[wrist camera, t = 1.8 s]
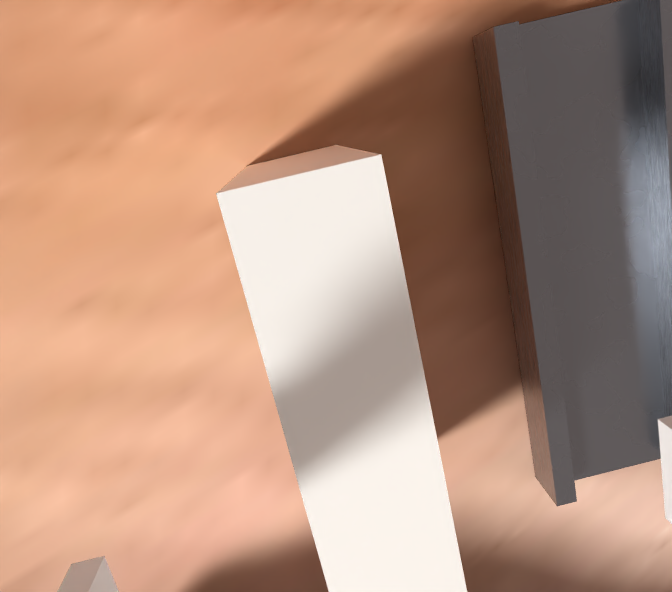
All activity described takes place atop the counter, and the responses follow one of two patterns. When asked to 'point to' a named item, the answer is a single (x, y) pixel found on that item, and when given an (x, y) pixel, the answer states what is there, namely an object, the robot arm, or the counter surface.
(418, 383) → the long white block
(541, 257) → the floor rack
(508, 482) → the counter surface
